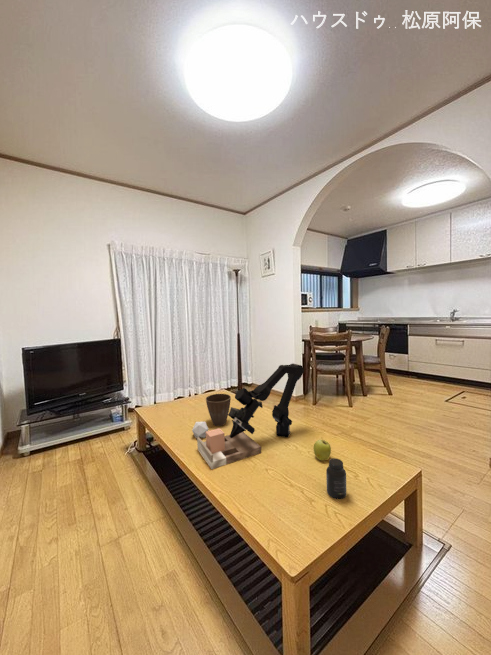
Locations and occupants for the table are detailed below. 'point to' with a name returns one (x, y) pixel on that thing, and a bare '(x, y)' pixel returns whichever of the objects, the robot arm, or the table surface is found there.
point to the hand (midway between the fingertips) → (230, 437)
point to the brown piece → (229, 450)
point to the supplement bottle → (336, 479)
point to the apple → (322, 449)
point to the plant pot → (218, 408)
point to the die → (200, 429)
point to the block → (215, 440)
